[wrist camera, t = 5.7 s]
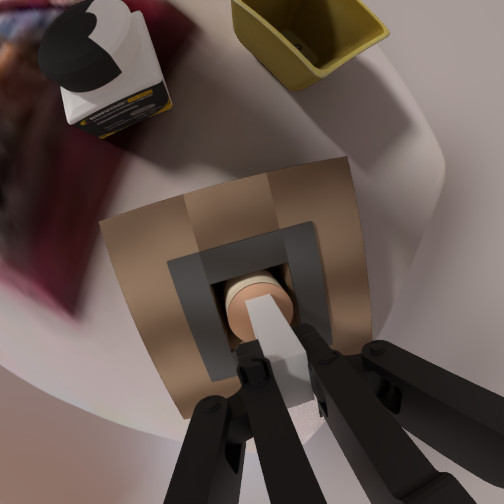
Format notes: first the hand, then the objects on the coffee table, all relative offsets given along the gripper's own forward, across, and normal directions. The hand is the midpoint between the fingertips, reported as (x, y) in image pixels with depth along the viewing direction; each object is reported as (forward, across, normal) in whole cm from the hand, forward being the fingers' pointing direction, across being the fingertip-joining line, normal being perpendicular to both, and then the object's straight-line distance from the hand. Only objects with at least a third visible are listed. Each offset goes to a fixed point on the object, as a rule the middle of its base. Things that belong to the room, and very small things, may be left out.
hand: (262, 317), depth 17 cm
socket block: (+9, 0, 0) cm, 9 cm away
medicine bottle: (+10, -6, +19) cm, 22 cm away
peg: (+9, 0, 0) cm, 9 cm away
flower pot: (+10, +9, +19) cm, 23 cm away
